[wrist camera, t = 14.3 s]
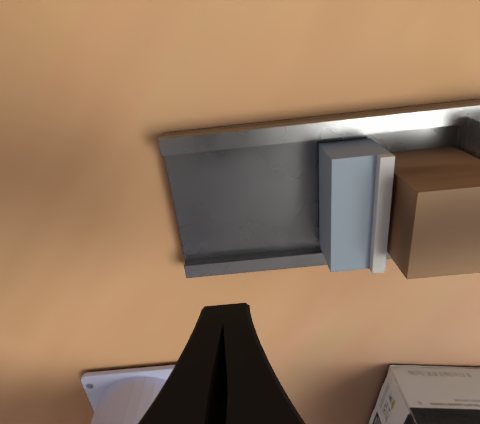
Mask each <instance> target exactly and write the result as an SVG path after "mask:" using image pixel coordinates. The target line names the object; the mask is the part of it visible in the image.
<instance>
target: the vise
mask: <svg viewBox="0 0 480 424" xmlns="http://www.w3.org/2000/svg"><path fill="white" fill-rule="evenodd" d="M365 138H371V139H372V140H374V141H375V142H376V143H378V144H379V145H381V146H382V147H383V148H385V149H386V150H387V151H389V152H397V151H407V150H417V149H427V148H437V147H448V146H453V147H455V148H457V149H460V150H462V151H464V152H466V153H468V154H470V155H472V156H474V157H476V158H478V159H480V99H473V100H464V101H454V102H445V103H436V104H426V105H417V106H408V107H398V108H389V109H380V110H370V111H361V112H352V113H343V114H333V115H324V116H315V117H305V118H296V119H287V120H277V121H268V122H259V123H249V124H240V125H231V126H221V127H212V128H203V129H194V130H184V131H175V132H166V133H163V134H162V135H161V136H160V138H159V139H158V143H159V148H160V153H161V156H164V158H165V163H166V168H167V173H168V178H169V183H170V187H171V192H172V197H173V202H174V207H175V212H176V217H177V222H178V227H179V232H180V237H181V242H182V247H183V252H184V257H185V264H184V269H185V274H186V278H192V277H203V276H213V275H224V274H234V273H245V272H255V271H266V270H277V269H287V268H298V267H308V266H319V265H328V264H327V262H326V260H325V257H324V255H323V252H322V250H321V248H320V245H319V143H327V142H336V141H346V140H355V139H365ZM386 259H392V258H391V256H390V255H389V254H388V252H387V254H386Z"/></svg>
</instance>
